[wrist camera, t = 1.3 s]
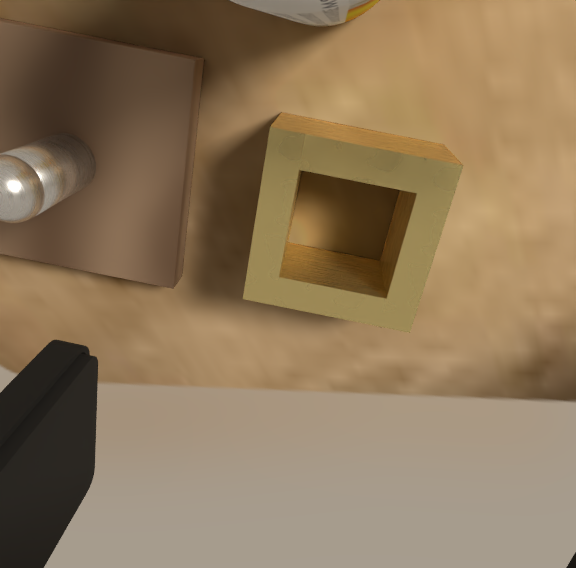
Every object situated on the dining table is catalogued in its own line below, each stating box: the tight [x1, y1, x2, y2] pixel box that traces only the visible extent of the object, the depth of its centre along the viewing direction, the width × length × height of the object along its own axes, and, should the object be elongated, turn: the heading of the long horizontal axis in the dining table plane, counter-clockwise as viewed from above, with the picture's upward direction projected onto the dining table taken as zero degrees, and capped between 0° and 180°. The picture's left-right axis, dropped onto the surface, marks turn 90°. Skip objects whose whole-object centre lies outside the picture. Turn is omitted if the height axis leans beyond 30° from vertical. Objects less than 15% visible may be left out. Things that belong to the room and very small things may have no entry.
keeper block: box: [0, 18, 204, 289], centre depth 21 cm, size 10×10×7 cm
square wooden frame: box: [243, 112, 463, 333], centre depth 22 cm, size 7×7×4 cm
